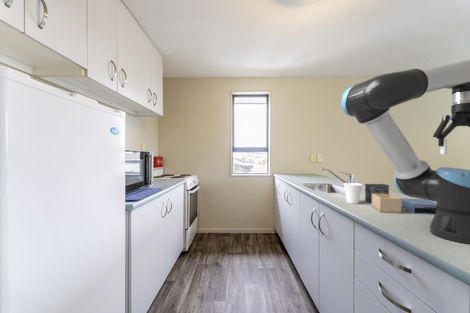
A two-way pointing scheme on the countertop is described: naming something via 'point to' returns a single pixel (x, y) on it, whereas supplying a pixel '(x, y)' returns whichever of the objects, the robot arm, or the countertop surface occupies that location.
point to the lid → (418, 204)
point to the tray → (386, 203)
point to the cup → (352, 192)
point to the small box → (375, 190)
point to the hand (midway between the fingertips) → (462, 154)
